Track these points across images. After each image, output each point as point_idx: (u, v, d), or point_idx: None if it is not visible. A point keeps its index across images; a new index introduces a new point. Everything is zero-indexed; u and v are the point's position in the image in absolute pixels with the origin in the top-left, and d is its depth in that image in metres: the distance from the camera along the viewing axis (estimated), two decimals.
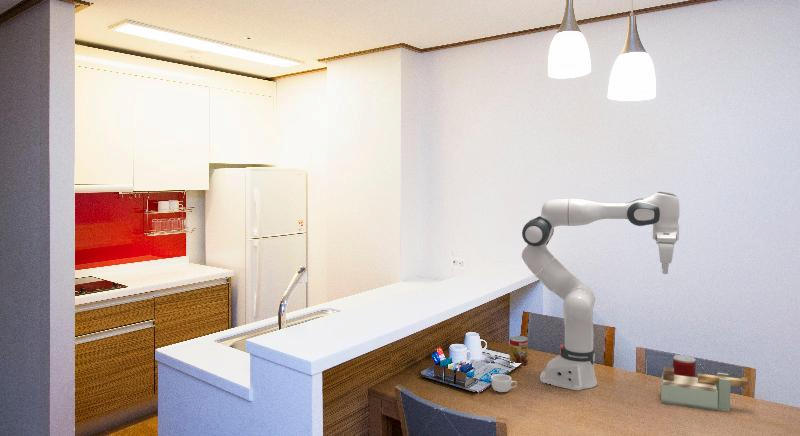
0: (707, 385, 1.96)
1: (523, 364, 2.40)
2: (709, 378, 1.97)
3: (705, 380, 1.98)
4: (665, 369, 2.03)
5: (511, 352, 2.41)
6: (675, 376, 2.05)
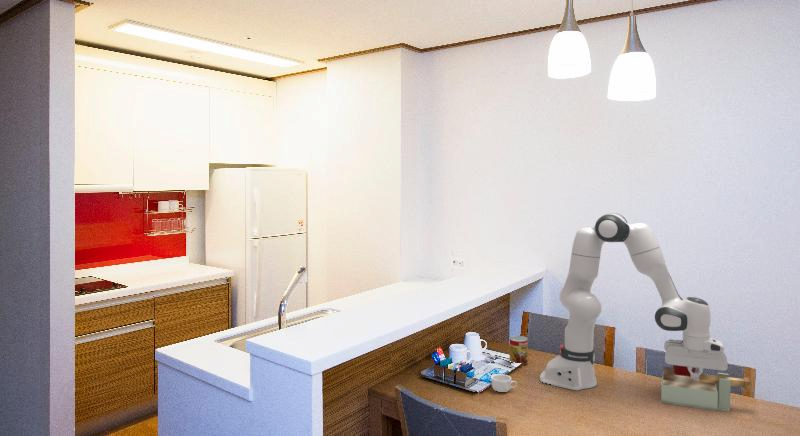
0: (707, 385, 1.96)
1: (523, 364, 2.40)
2: (711, 378, 1.97)
3: (707, 380, 1.98)
4: (665, 369, 2.03)
5: (511, 352, 2.41)
6: (675, 376, 2.05)
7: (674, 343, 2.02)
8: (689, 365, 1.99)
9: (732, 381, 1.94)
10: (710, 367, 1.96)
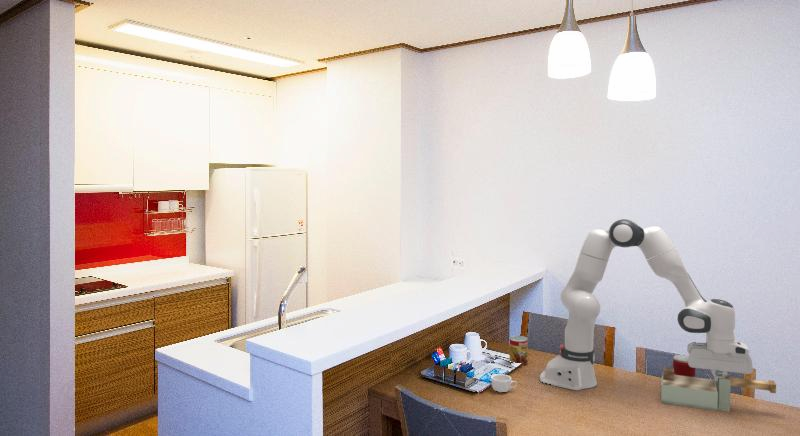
0: (707, 385, 1.96)
1: (523, 364, 2.40)
2: (735, 381, 1.94)
3: (731, 383, 1.94)
4: (665, 369, 2.03)
5: (511, 352, 2.41)
6: (675, 376, 2.05)
7: (697, 346, 1.99)
8: (713, 368, 1.96)
9: (757, 384, 1.91)
10: (735, 370, 1.93)
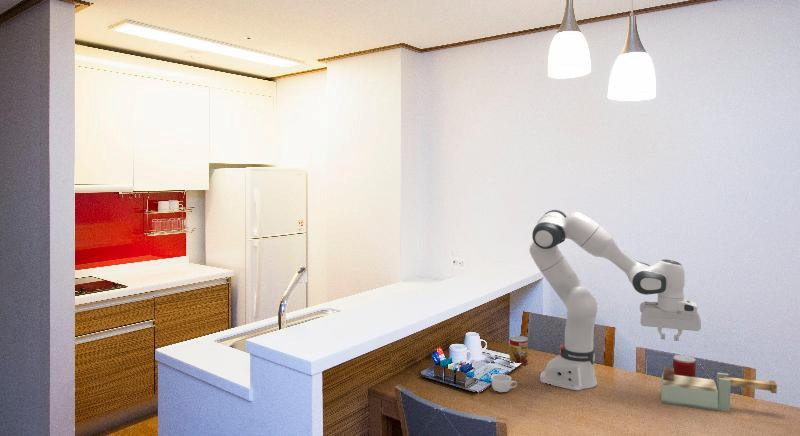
0: (707, 385, 1.96)
1: (523, 364, 2.40)
2: (736, 381, 1.94)
3: (732, 383, 1.94)
4: (665, 369, 2.03)
5: (511, 352, 2.41)
6: (675, 376, 2.05)
7: (649, 305, 2.04)
8: (663, 326, 2.02)
9: (758, 384, 1.91)
10: (684, 328, 1.99)
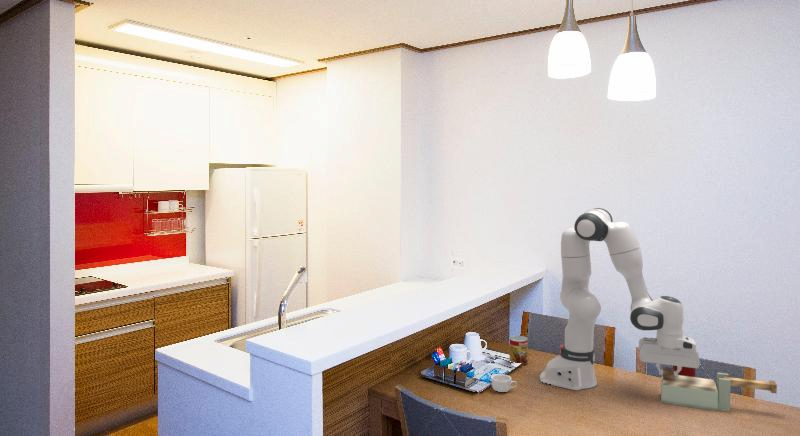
0: (707, 385, 1.96)
1: (523, 364, 2.40)
2: (736, 381, 1.94)
3: (732, 383, 1.94)
4: (665, 369, 2.03)
5: (511, 352, 2.41)
6: None
7: (648, 341, 2.05)
8: (662, 362, 2.03)
9: (758, 384, 1.91)
10: (683, 364, 2.00)
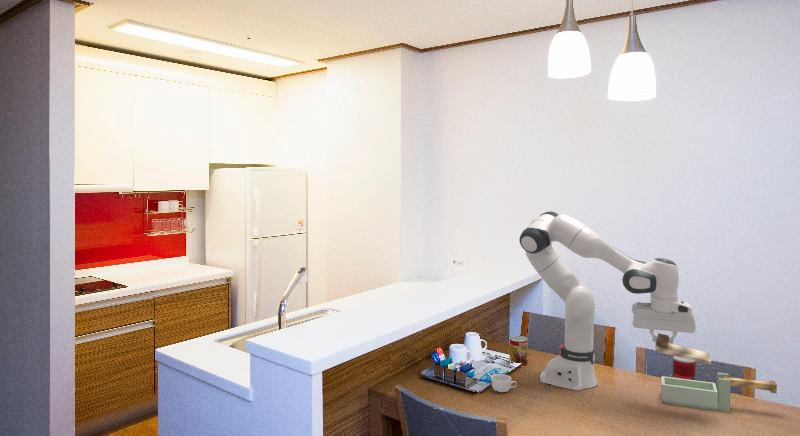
0: (701, 357, 1.87)
1: (523, 364, 2.40)
2: (736, 381, 1.94)
3: (732, 383, 1.94)
4: (660, 336, 1.94)
5: (511, 352, 2.41)
6: (669, 344, 1.96)
7: (642, 306, 1.96)
8: (657, 328, 1.93)
9: (758, 384, 1.91)
10: (678, 330, 1.90)
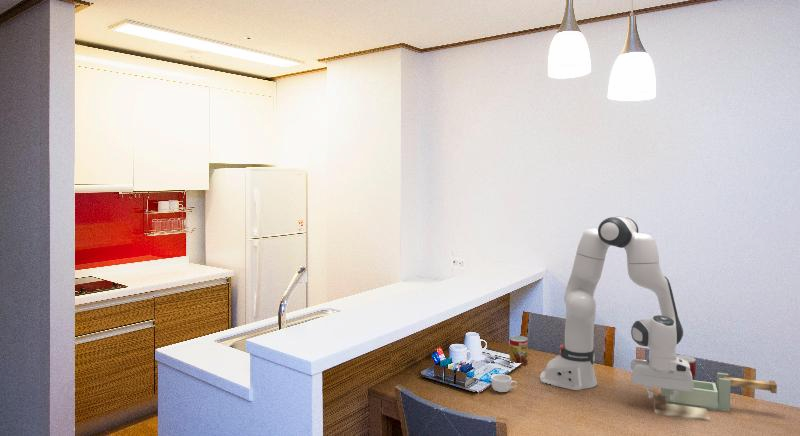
0: (700, 415, 1.89)
1: (523, 364, 2.40)
2: (736, 381, 1.94)
3: (732, 383, 1.94)
4: (657, 398, 1.96)
5: (511, 352, 2.41)
6: (667, 405, 1.98)
7: (640, 362, 1.97)
8: (655, 385, 1.95)
9: (758, 384, 1.91)
10: (676, 388, 1.92)
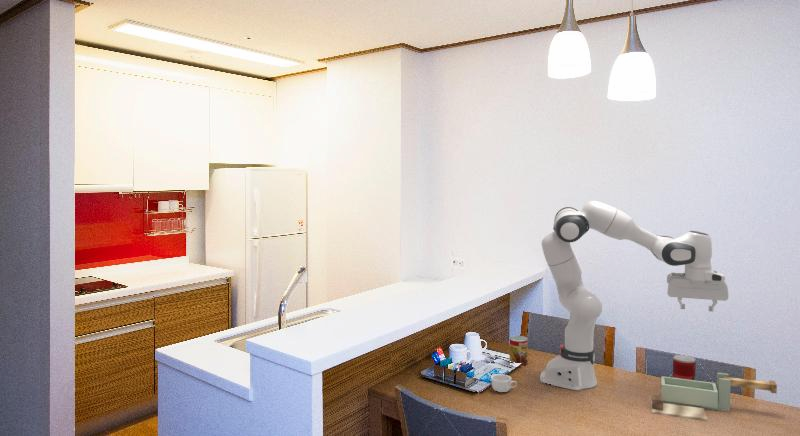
0: (697, 415, 1.90)
1: (523, 364, 2.40)
2: (736, 381, 1.94)
3: (732, 383, 1.94)
4: (654, 398, 1.96)
5: (511, 352, 2.41)
6: (664, 405, 1.98)
7: (676, 276, 2.07)
8: (691, 296, 2.04)
9: (758, 384, 1.91)
10: (711, 297, 2.02)
